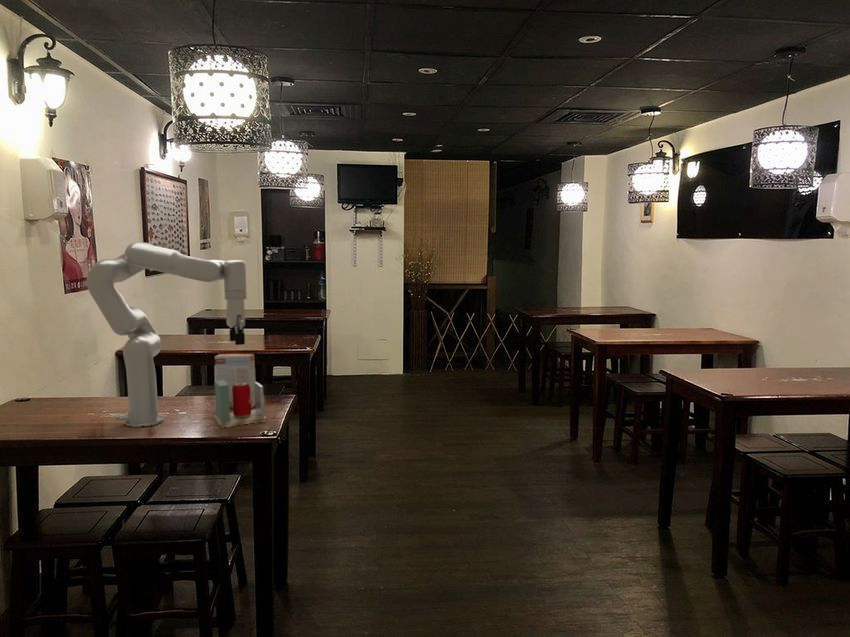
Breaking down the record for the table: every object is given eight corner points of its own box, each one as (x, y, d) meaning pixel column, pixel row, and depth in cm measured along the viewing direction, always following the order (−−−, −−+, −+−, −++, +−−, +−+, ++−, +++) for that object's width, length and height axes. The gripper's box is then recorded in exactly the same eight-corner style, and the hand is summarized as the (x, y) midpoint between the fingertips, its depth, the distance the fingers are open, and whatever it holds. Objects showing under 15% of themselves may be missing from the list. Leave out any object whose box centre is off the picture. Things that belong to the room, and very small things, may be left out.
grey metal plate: (261, 416, 235) (260, 386, 234) (255, 411, 243) (254, 382, 242) (264, 416, 236) (262, 386, 234) (258, 410, 244) (257, 381, 242)
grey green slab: (221, 422, 228) (219, 386, 227) (216, 415, 237) (214, 380, 236) (230, 421, 230) (228, 385, 228) (224, 414, 239) (223, 379, 237)
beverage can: (253, 413, 240) (252, 381, 238) (248, 418, 234) (247, 385, 232) (236, 413, 240) (235, 381, 238) (231, 418, 234) (229, 385, 232)
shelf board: (221, 428, 227) (221, 424, 226) (214, 418, 239) (213, 414, 239) (267, 421, 234) (267, 417, 234) (257, 412, 246) (257, 409, 246)
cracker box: (257, 405, 258) (255, 353, 255) (251, 409, 252) (249, 356, 249) (223, 404, 259) (220, 353, 257) (216, 408, 253) (214, 355, 251)
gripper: (220, 293, 238) (222, 340, 240) (229, 297, 223) (231, 346, 225) (241, 293, 241) (242, 338, 243) (251, 296, 226) (253, 345, 228)
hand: (237, 342), depth 234 cm, fingers open, 9 cm apart
